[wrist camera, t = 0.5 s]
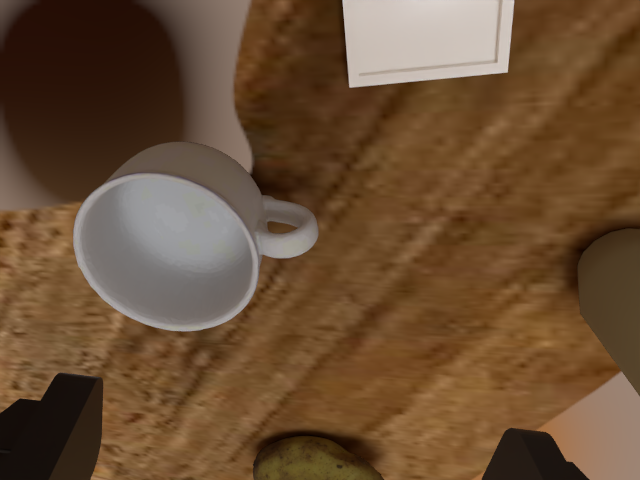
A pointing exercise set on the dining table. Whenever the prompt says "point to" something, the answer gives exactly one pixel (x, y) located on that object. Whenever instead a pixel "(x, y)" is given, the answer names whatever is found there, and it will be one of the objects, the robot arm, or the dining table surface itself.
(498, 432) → the dining table surface
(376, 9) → the white panel
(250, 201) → the teacup
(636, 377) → the squeeze bottle
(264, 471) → the potato
